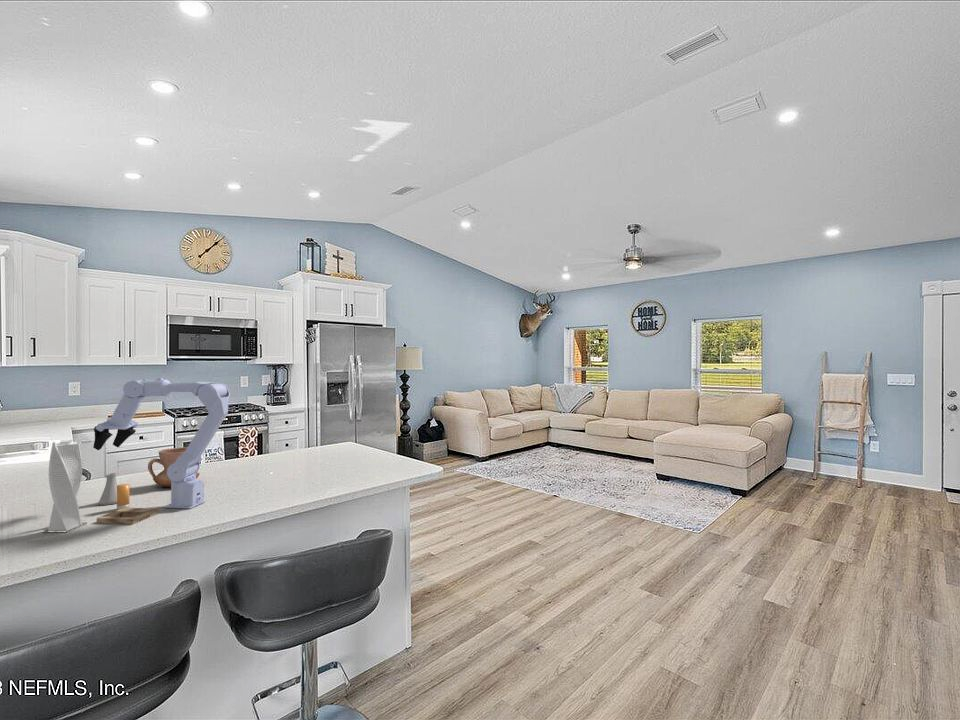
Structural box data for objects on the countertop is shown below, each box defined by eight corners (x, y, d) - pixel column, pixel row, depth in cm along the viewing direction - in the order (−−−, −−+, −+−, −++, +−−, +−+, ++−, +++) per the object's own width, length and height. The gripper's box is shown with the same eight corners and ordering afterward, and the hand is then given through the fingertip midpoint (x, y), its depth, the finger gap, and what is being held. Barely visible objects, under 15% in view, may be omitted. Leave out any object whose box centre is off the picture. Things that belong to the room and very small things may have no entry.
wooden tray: (158, 513, 151) (158, 508, 151) (132, 524, 141) (132, 519, 141) (123, 512, 152) (123, 507, 152) (96, 522, 142) (96, 518, 142)
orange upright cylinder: (132, 507, 157) (132, 484, 157) (123, 510, 154) (123, 486, 154) (122, 507, 157) (122, 483, 157) (114, 510, 154) (114, 486, 154)
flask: (93, 506, 158) (93, 477, 158) (104, 500, 165) (104, 472, 165) (118, 504, 160) (118, 476, 160) (127, 498, 167) (128, 471, 167)
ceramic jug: (203, 478, 195) (203, 444, 195) (199, 487, 182) (199, 451, 182) (151, 482, 187) (151, 448, 187) (143, 492, 174) (144, 455, 174)
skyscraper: (91, 523, 141) (92, 433, 141) (69, 533, 133) (69, 437, 133) (63, 523, 141) (64, 432, 141) (39, 533, 133) (39, 437, 133)
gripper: (132, 406, 166) (114, 439, 166) (96, 407, 152) (77, 444, 151) (148, 415, 165) (130, 448, 165) (114, 417, 151) (94, 454, 151)
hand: (106, 447), depth 158 cm, fingers open, 7 cm apart
